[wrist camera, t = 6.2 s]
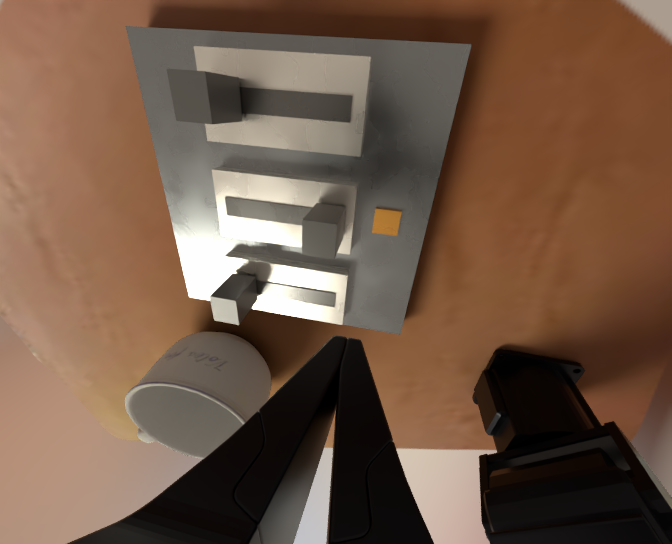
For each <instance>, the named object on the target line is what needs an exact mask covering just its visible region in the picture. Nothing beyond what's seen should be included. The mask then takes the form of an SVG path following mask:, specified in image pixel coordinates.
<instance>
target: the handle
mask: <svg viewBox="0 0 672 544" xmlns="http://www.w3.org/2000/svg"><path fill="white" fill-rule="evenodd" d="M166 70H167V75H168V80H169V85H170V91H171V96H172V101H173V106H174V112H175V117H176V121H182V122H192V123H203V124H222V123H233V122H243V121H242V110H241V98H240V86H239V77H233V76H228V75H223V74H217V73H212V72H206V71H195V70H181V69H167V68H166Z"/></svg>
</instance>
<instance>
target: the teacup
mask: <svg viewBox="0 0 672 544" xmlns="http://www.w3.org/2000/svg"><path fill="white" fill-rule="evenodd" d="M270 390H271V374H270V371H269V368H268V365H267V363H266V362H265V360H264V359H263V357H262V356H261V355H260V354H259V352H258V351H257V350H256V348H255V347H254V346H253V345H251V344H250V343H249V342H247V341H246V340H244V339H242V338H240V337H238V336H236V335H233V334H229V333H224V332H199V333H194V334H191V335H189V336H186V337H184V338H182V339H181V340H179V341H178V342H176V343H175V344H174V345H173V346H172V347H170V348H169V349H168V350H167V351H166V353H165V354H164V355H163V356H162V357H161V358H160V359H159V360H158V361H157V362H156V363H155V364H154V366H153V367H152V368H151V369H150V370H149V371H148V372H147V374H146V375H145V376H144V377H143V378H142V380H141V381H140V382H139V383H138V384H137V385H136V386H134V387H133V388H132V389H131V390H130V391H129V392H128V394H127V396H126V398H125V407H126V411H127V413H128V415H129V416H130V418H131V420H132V421H133V422H134V423H135V424H136V425H137V426H138V427H139V429H138V432H137V435H138V438H139V439H140V440H142V441H144V442H146V443H152V442H154V441H157V442H159V443H161V444H162V445H164V446H166V447H168V448H170V449H172V450H174V451H177V452H180V453H182V454H184V455H187V456H191V457H196V458H199V459H204V458H205V457H207V456H208V455H209V454H210V453H211V452H213V451H214V450H215V449H216V448H217V447H219V446H220V445H221V444H222V443H223V442H225V441H226V440H227V439H228V438H229V437H230V436H231V435H233V434H234V433H235V432H236V431H237V430H238V429H239V428H240V427H241V426H242V425H243V424H244V423H245V422H246V421H247V420H249V419H250V418H251V417H252V416H253V415H254V414H255V413H256V412H257V411H259V409H260V408H261V407H262V406H263V405H264V404H265V403H266V402H267V401H268V398H269V394H270Z"/></svg>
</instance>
